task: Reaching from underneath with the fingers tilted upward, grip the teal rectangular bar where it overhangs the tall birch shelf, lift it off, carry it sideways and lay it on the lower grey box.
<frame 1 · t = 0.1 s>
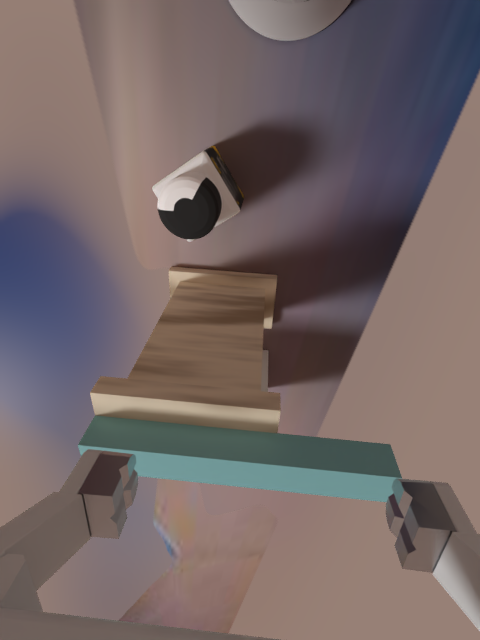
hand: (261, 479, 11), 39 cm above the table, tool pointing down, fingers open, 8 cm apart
medicine bottle: (206, 187, 44), on the table
birch shelf: (223, 296, 52), on the table
teal rectangular bar: (239, 442, 29), point 26 cm above the table, touching birch shelf
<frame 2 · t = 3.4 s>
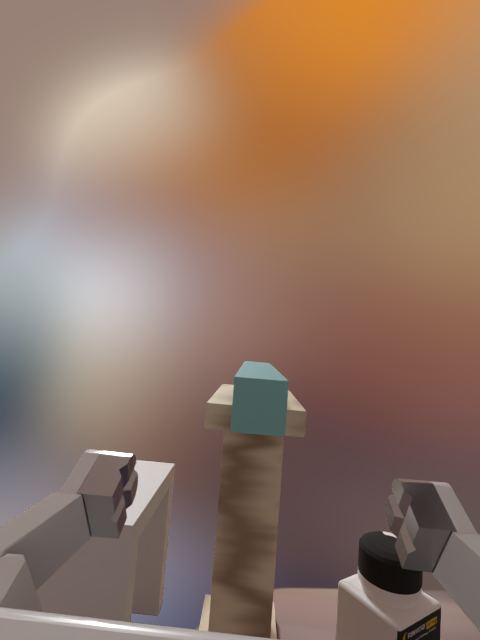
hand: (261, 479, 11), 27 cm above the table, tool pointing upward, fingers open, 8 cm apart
teal rectangular bar: (255, 401, 31), point 26 cm above the table, touching birch shelf
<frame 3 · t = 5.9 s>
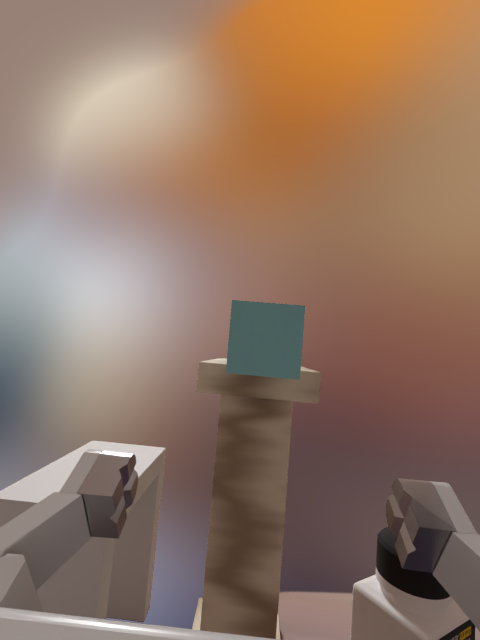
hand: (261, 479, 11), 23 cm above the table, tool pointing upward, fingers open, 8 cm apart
teal rectangular bar: (258, 365, 26), point 26 cm above the table, touching birch shelf
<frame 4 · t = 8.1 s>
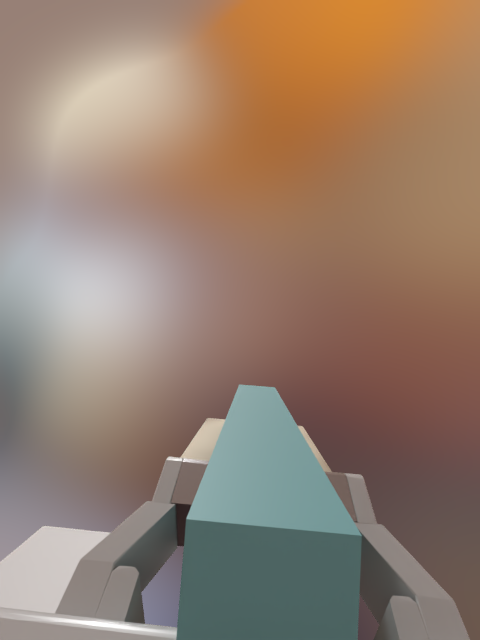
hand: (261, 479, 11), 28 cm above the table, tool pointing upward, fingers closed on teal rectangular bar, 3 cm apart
teal rectangular bar: (255, 470, 18), point 26 cm above the table, touching birch shelf, gripper
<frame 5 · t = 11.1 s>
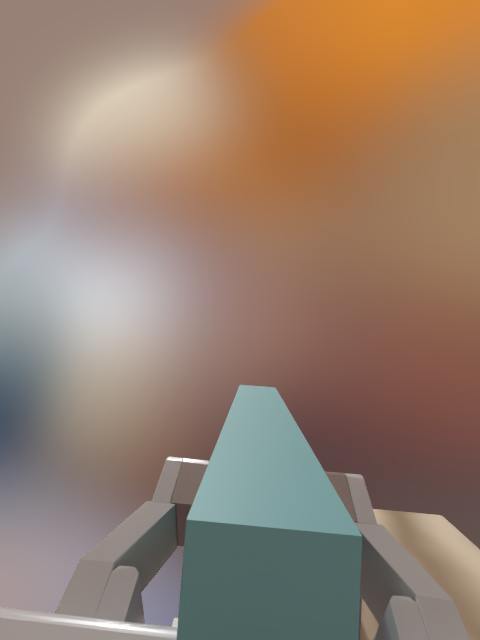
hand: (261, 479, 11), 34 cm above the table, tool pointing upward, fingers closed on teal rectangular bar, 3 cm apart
teal rectangular bar: (256, 470, 18), point 32 cm above the table, touching gripper
when the fingers open (19 cm above the table, at t = 13.9 s): teal rectangular bar drops 2 cm, resting on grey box.
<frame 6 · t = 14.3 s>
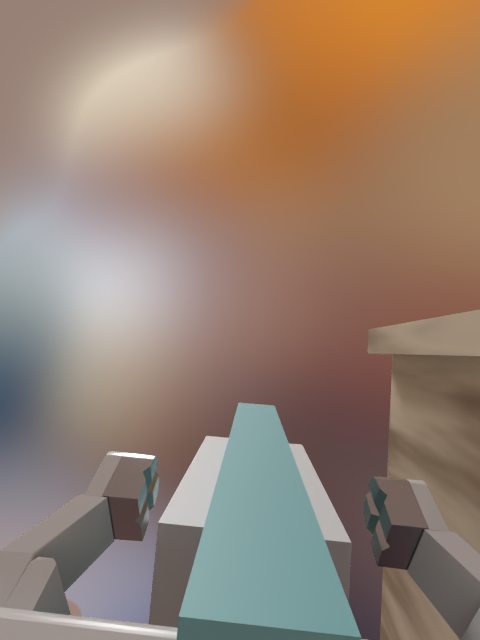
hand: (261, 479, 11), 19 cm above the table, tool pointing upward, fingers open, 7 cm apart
teal rectangular bar: (254, 502, 18), point 16 cm above the table, touching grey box
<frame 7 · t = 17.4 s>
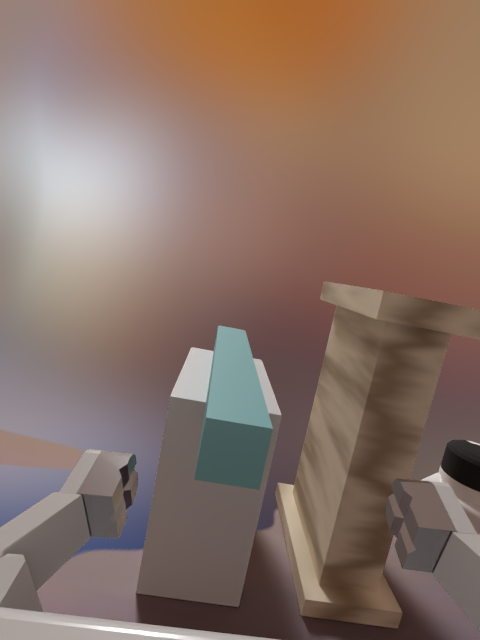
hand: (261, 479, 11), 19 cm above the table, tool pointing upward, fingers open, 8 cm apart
medicine bottle: (449, 551, 39), on the table
birch shelf: (324, 547, 35), on the table
teal rectangular bar: (226, 391, 28), point 16 cm above the table, touching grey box
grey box: (196, 528, 35), on the table
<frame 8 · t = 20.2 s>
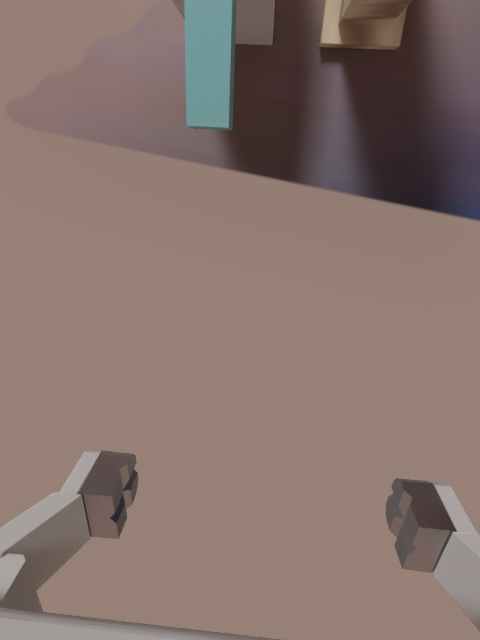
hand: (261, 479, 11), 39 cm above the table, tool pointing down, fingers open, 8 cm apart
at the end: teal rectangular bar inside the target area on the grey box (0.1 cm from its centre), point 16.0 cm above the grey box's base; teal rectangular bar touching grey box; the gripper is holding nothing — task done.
